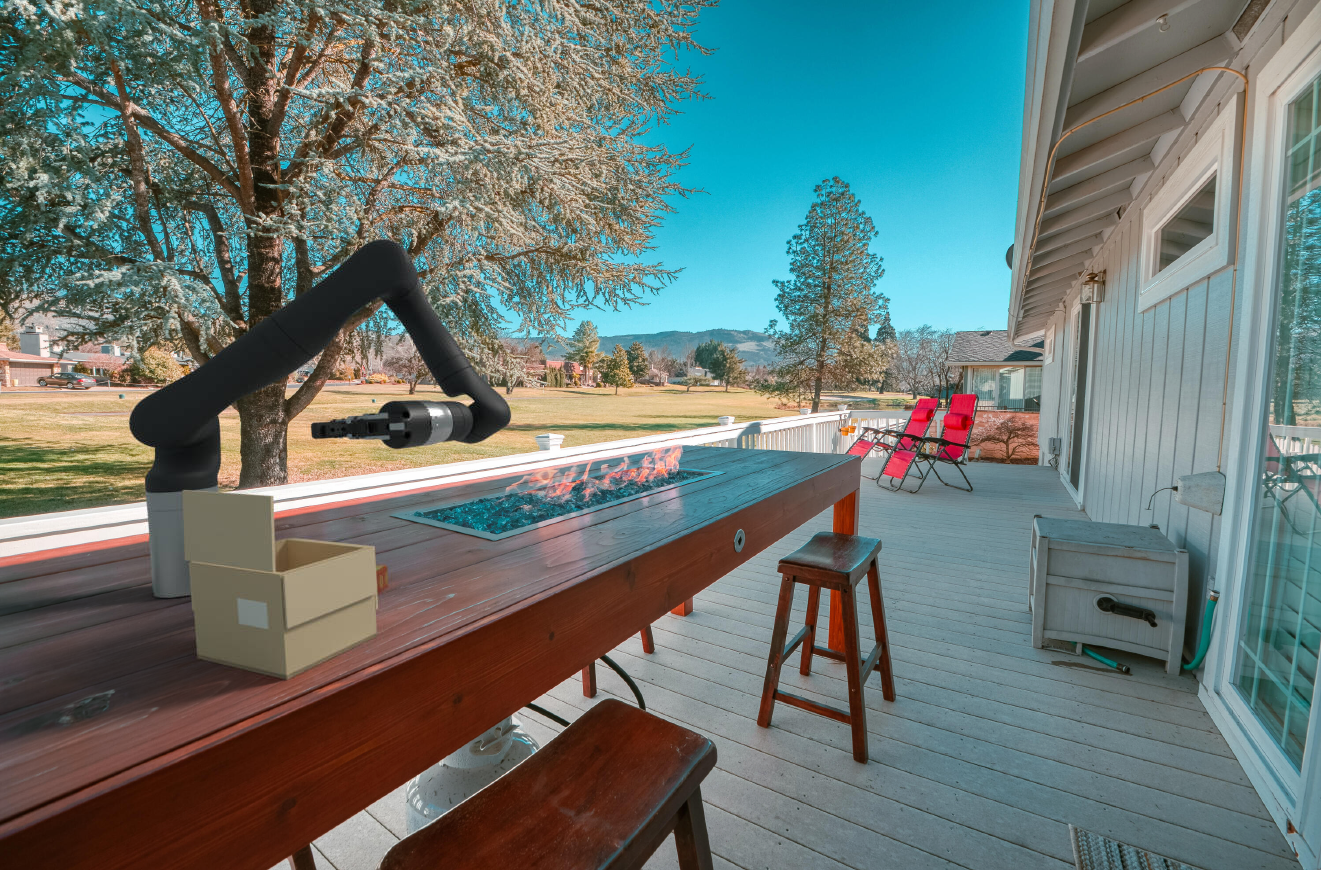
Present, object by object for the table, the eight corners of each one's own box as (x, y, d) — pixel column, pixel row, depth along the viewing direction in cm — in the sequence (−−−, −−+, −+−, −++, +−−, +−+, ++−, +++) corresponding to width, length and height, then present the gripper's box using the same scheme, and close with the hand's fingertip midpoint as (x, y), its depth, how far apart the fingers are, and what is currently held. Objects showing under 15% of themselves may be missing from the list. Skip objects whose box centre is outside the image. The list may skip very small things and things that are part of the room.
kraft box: (194, 657, 68) (186, 561, 67) (294, 619, 80) (289, 537, 79) (289, 680, 62) (282, 575, 61) (382, 635, 74) (378, 546, 73)
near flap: (187, 559, 67) (184, 560, 67) (185, 490, 67) (182, 490, 66) (275, 571, 61) (272, 572, 61) (273, 495, 61) (270, 496, 61)
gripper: (383, 401, 92) (278, 404, 76) (447, 398, 87) (349, 401, 71) (387, 446, 92) (283, 458, 76) (449, 446, 88) (353, 459, 71)
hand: (315, 430), depth 74 cm, fingers closed
